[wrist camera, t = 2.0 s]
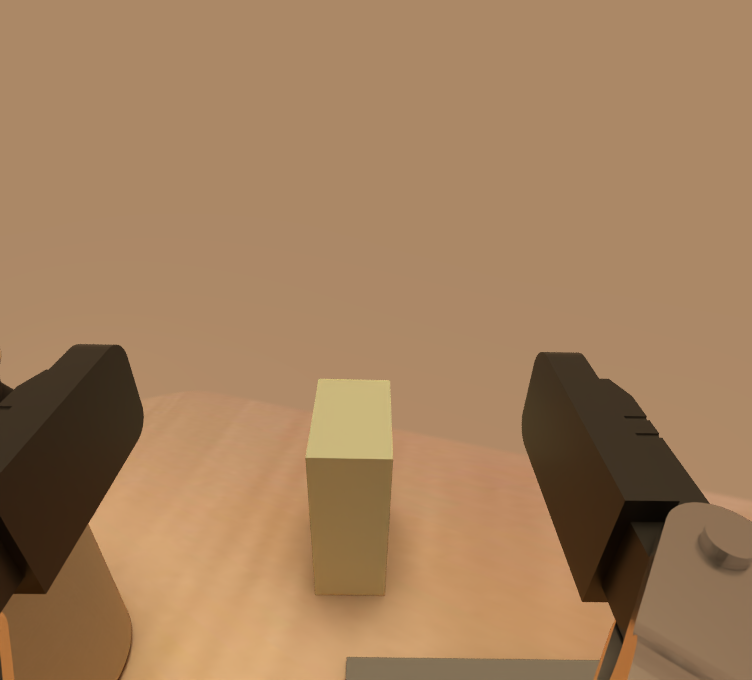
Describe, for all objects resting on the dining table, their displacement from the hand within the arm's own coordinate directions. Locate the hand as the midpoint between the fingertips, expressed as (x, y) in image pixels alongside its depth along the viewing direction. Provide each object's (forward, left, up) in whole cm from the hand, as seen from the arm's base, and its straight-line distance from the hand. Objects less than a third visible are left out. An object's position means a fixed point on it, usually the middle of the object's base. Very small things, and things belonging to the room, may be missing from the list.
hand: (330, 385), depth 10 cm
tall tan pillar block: (0, +11, -21) cm, 24 cm away
